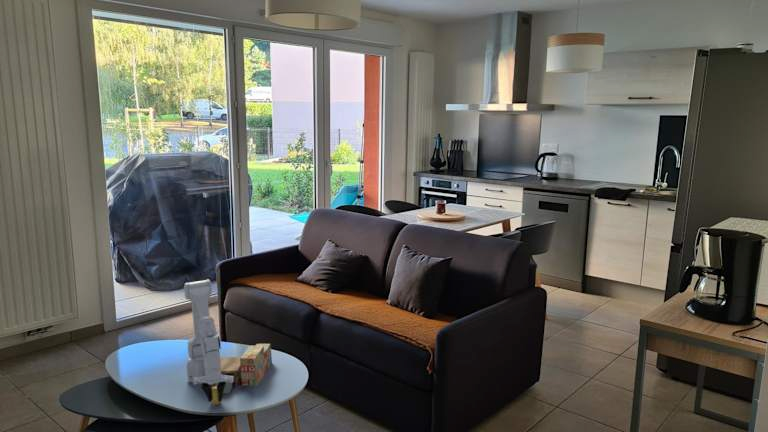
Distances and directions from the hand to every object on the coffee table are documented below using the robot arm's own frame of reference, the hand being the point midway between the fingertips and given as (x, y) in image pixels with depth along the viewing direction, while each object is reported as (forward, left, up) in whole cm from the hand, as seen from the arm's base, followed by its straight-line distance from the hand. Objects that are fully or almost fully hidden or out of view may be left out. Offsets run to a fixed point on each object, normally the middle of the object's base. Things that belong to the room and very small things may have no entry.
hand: (215, 400), depth 202 cm
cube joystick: (0, +6, -2) cm, 7 cm away
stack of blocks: (+11, +24, -2) cm, 27 cm away
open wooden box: (0, +20, -2) cm, 20 cm away
